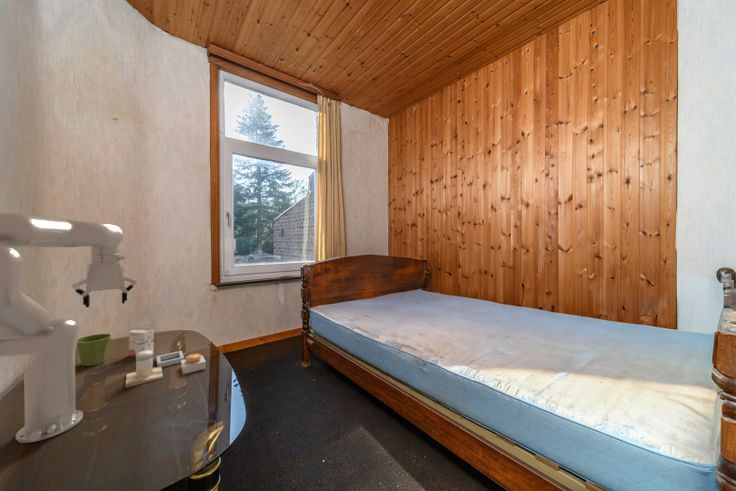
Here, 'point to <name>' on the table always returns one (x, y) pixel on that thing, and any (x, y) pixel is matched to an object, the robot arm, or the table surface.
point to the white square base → (193, 365)
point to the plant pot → (93, 348)
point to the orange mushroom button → (193, 358)
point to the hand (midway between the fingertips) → (106, 304)
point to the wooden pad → (132, 379)
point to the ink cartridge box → (141, 339)
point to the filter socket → (168, 356)
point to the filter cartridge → (144, 364)
